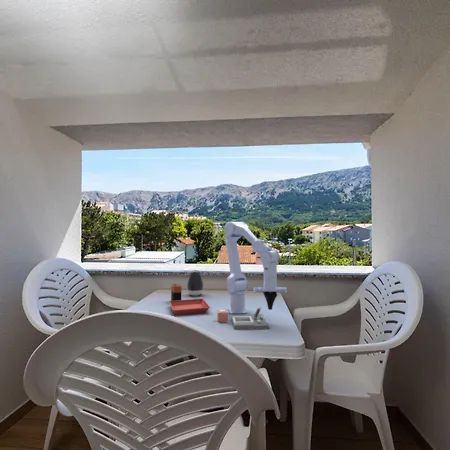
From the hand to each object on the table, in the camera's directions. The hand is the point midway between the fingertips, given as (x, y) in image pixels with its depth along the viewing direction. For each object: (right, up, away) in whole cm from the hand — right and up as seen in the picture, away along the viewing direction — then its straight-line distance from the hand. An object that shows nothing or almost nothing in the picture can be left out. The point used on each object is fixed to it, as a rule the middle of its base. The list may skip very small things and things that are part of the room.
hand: (270, 309), depth 128 cm
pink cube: (-21, -6, +2) cm, 22 cm away
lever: (-7, -4, 0) cm, 8 cm away
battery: (-47, -6, +35) cm, 59 cm away
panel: (-9, -5, -2) cm, 11 cm away
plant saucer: (-38, -6, +18) cm, 43 cm away
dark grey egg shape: (-38, -6, +52) cm, 64 cm away
